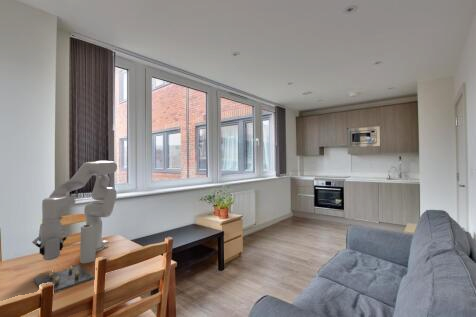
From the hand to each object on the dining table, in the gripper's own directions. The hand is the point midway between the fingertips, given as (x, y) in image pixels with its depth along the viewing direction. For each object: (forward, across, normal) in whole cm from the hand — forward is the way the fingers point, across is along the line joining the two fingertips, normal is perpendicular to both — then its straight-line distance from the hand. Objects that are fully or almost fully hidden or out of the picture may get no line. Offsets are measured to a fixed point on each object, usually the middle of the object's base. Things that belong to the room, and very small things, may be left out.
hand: (51, 251), depth 136 cm
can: (+4, 0, 0) cm, 4 cm away
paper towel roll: (+10, -16, +5) cm, 19 cm away
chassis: (+9, 0, +20) cm, 22 cm away
